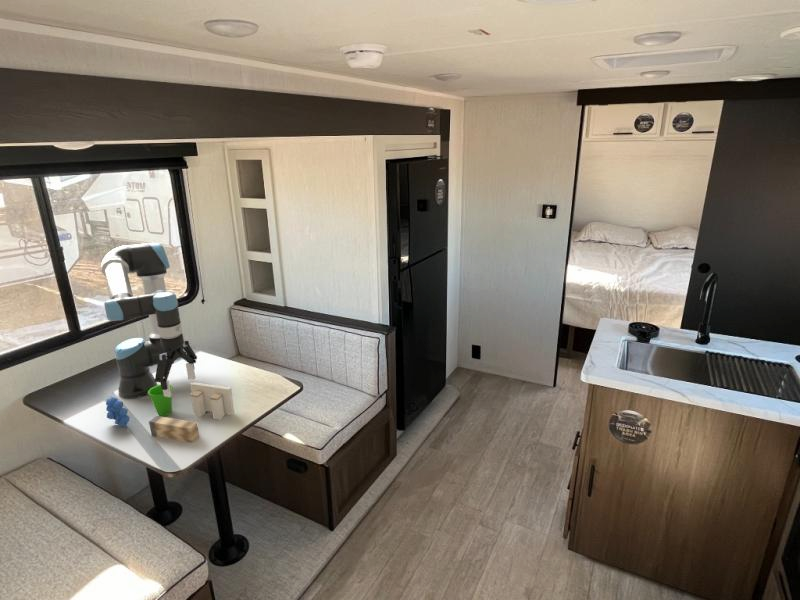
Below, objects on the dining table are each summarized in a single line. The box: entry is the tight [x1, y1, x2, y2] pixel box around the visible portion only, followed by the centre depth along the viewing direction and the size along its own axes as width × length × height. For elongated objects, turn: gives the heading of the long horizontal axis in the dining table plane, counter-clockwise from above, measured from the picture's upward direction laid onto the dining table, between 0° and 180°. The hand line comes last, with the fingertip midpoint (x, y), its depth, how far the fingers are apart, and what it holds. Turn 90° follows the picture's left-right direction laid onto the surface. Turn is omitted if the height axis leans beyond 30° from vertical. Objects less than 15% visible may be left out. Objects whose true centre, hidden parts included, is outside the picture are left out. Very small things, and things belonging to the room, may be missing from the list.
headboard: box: [189, 381, 235, 420], centre depth 187 cm, size 18×6×12 cm, turn 76°
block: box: [148, 415, 200, 443], centre depth 174 cm, size 18×4×6 cm, turn 75°
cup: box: [147, 384, 174, 417], centre depth 187 cm, size 9×9×11 cm
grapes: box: [105, 396, 131, 427], centre depth 179 cm, size 12×7×12 cm, turn 63°
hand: (180, 387), depth 173 cm, fingers open, 13 cm apart
